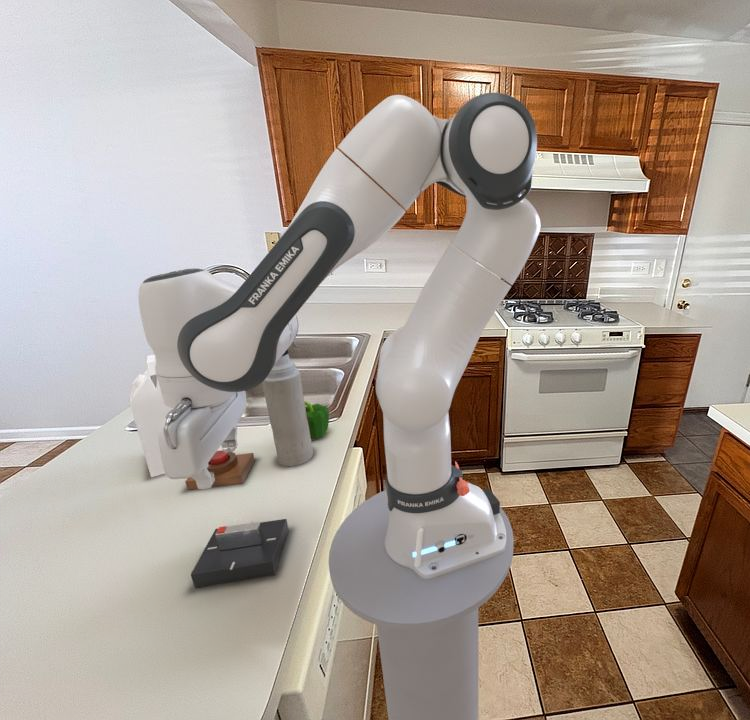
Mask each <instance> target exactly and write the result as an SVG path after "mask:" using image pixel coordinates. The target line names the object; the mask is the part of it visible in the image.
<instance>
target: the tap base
mask: <svg viewBox="0 0 750 720" xmlns="http://www.w3.org/2000/svg"><path fill="white" fill-rule="evenodd" d="M259 522H260V524H261V528H262V532H263V536H264V538H263V541H262V544H260V545H253V546H247V547H240V548H233V549H227V550H220V549H219V546H218V542H217V539H216V535H215V534H216V532H217V530H218V529H219V527H218V528H215V529H214V531H213V533H212V534H211V537H210V538H209V540H208V542H207V544H206V545H205V547H204V549H203V550H202V553H201V554H200V556H199V557H198V560H197V562H196V564H195V565H194V567H193V569H192V571H191V573H190V577H191V580H192V583H193V586H194V589H200V588H204V587H212V586H216V585H217V586H218V585H223V584H230V583H234V582H236V583H237V582H240V581H241V582H242V581H246V580H247V581H248V580H252V579H260V578H266V577H272V576H275V575H276V573H277V570H278V567H279V565H280V564H279V563H280V561H281V558H282V554H283V551H284V548H285V545H286V542H287V538H288V535H289V532H290V530H289V524H288V520H287V518H283V519H276V520H275V519H274V520H268V521H267V520H266V521H259ZM250 523H254V521H250Z"/></svg>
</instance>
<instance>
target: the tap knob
mask: <svg viewBox="0 0 750 720" xmlns="http://www.w3.org/2000/svg"><path fill="white" fill-rule="evenodd" d="M260 522H261V521H257V522H253V523H251V522H250V523H244V524H237V525H235V524H234V525H230V526H226V525H224V526H219V527H218V528H219V529H218V528H217V529H218V530H217V532H216V534H215V535H216V539H217V542H218V546H219V549H220V550H227V549H233V548H240V547H247V546H253V545H260V544H262V541H263V538H264V536H263V532H262V528H261V524H260Z"/></svg>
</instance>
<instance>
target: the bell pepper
mask: <svg viewBox="0 0 750 720" xmlns="http://www.w3.org/2000/svg"><path fill="white" fill-rule="evenodd" d="M304 401H305V408H306V415H307V420H308V425H309V431H310V437H311V441H312V440H319V439H321V438H323V437H324V436H325V435H326V433H327V431H328V428H329V424H330V412H329V411H330V409H329V408H328V407H327V406H326V405H322V404H320V403H314V404H311V403H310V402H309V401H306V400H304Z"/></svg>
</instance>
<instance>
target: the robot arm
mask: <svg viewBox="0 0 750 720" xmlns="http://www.w3.org/2000/svg"><path fill="white" fill-rule="evenodd" d="M537 149H538V132H537V127H536V123H535V121H534V118H533V116H532V114H531V112H530V111H529V110H528V108H527V107H526V106H525V105H524V104H523V103H522V102H521V101H520V100H519V99H517V98H515V97H513V96H511V95H509V94H506V93H503V92H486V93H485V92H484V93H481V94H479V95H476V96H474V97H472V98H470V99H469V100H468V101H466V102H465V103H464V104H463V105H462V106H461V107H460V108H459V109H458V111H457V112H456V113H455V114H454V115H453V116H452V117H450V118H440V117H437V116H435V115H433V114H432V113H431V112H430V110H428V109H427V107H425V106H424V105H423V104H421V102H419V101H418V100H416V99H414V98H412V97H410V96H407V95H404V94H393V95H390V96H387V97H386V98H384V99H383V100H382V101H381V102H379V103H378V104H377V105H376V106H375V107H373V108H372V109H371V110H370V111H368V113H367V114H366V115H364V117H363V118H361V120H359V121H358V122H357V124H355V125H354V127H353V128H352V129H350V131H349V132H348V133H347V134H346V136H345V137H344V138H343V139H342V140H341V142H340V143H339V144H338V146H337V148H335V149H334V150H333V152H332V153H331V154H330V157H329V158H328V159H327V161H326V162H325V163H324V165H323V167H322V168H321V170H320V171H319V173H318V175H317V176H316V177H315V179H314V181H313V183H312V184H311V186H310V188H309V190H308V192H307V194H306V196H305V198H304V199H303V201H302V203H301V204H300V206H299V208H298V209H297V212H296V213H295V215H294V217H293V219H292V220H291V222H289V225H288V226H287V228H286V229H285V231H284V232H283V234H282V235H281V236H280V238H279V239H278V240H277V241H276V243H275V244H274V245H273V246H272V248H271V249H270V250H269V251H268V253H267V254H266V255H265V256H264V257H263V258H262V260H261V261H260V262H259V264H258V265H257V266H256V267H255V268H254V269H253V271H252V272H251V273H250V275H248V276H247V278H246V279H245V281H243V283H242V284H241V285H240V286H238V285H235V284H233V283H230V282H228V281H224V280H222V279H221V278H219V277H216V276H215V275H214V274H212V273H211V272H209V271H208V270H206V269H203V268H185V269H180V270H179V269H178V270H175V271H170V272H165V273H160V274H156V275H153V276H150V277H148V278H145V279H144V280H143V282H141V283H140V285H139V288H138V308H139V315H140V320H141V324H142V327H143V332H144V335H145V339H146V343H147V344H148V346H149V347H150V348H151V351H152V352H153V355H155V358H156V365H155V371H156V375H157V378H158V382H159V385H160V389H161V393H162V396H163V400H164V403H165V405H166V406H168V407H170V408H174V409H172V410H171V411H169V412H168V413H167V415H166V419H167V420H166V421H165V422H164V423H163V424H162V425H161V427H160V429H159V434H158V441H159V448H160V454H161V460H162V465H163V469H164V473H165V474H164V475H165V476H166V477H167V478H169V479H171V480H183V479H188V478H193V479H195V481H196V484H197V487H198V488H199V490H206V489H207V490H208V489H211V488H212V487H211V486H212V485H213V483H214V481H215V478H214V473H213V472H209V471H208V470H207V468H208V466H209V465H208V462H209V461H210V459H211V458H212V457H213V455H214V454H215V453H216V451H219V448H220V447H221V448H222V450H223V451H224V452H226V453H227V452H233V453H235V451H236V449H237V448H238V446H239V443H238V439H237V437H238V427H239V426H238V423H239V421H240V420H241V418H242V417H243V415H244V414H245V413H246V410H247V393H246V391H249V390H252V389H254V388H256V387H258V386H259V385H261V384H262V382H263V381H264V380H265V379H266V378H267V376H268V374H269V373H270V371H271V370H272V368H273V366H274V365H275V363H276V362H277V361H278V360H279V359H280V357H281V356H282V355H283V354H284V353H285V351H286V350H287V349H288V350H289V348H290V347H291V345H292V344H293V343H294V341H295V339H296V337H297V336H298V332H299V319H298V317H297V314H298V313H299V311H300V310H301V308H302V307H303V306H304V305H305V304H306V303H307V301H308V300H309V299H310V297H311V296H312V295H313V294H314V293H315V292H316V291H317V289H318V288H319V286H320V285H321V284H322V283H323V282H324V281H325V280H326V279H327V278H328V277H329V276H330V275H331V274H332V273H333V272H335V271H336V270H337V269H338V268H340V267H341V266H342V265H343V264H345V263H346V262H348V261H349V260H351V259H353V258H354V257H355V256H357V255H360V253H362V252H364V251H365V250H367V249H368V248H370V247H371V246H372V245H374V244H375V243H377V242H378V241H379V240H380V239H381V238H382V237H384V236H385V234H387V233H388V232H389V231H390V230H391V229H393V227H394V226H395V225H396V224H397V223H398V222H399V221H400V220H401V219H402V217H403V216H404V215H405V214H406V211H409V209H410V207H411V206H412V205H413V204H414V202H415V201H416V200H417V199H418V197H419V196H420V195H421V194H422V193H423V192H424V191H425V190H426V189H427V188H428V187H429V186H432V184H435V183H436V184H437V185H439V186H441V187H443V188H445V189H447V190H449V191H450V192H452V193H454V194H456V195H458V196H461V197H464V198H465V200H466V211H465V215H464V218H463V220H462V222H461V226H460V227H459V228H458V230H457V232H456V233H455V235H454V236H453V238H452V239H451V241H450V244H448V246H447V248H446V249H445V251H444V252H443V254H442V256H441V257H440V259H439V261H438V262H437V264H436V265H435V267H434V269H433V270H432V272H431V274H430V275H429V277H428V279H427V280H426V282H425V283H424V285H423V286H422V288H421V290H420V292H419V295H418V297H417V299H416V301H415V303H414V305H413V307H412V310H411V311H410V313H409V315H408V317H407V319H406V321H405V323H404V325H403V326H400V327H398V328H397V329H395V330H393V331H392V332H391V333H390V334H389V335H388V336H387V338H385V340H384V342H383V344H381V347H380V351H379V356H378V357H379V358H378V365H377V372H376V379H375V394H376V398H377V401H378V404H379V406H380V409H381V411H382V419H383V420H382V421H383V422H382V423H383V445H384V454H385V464H386V465H385V466H386V474H385V481H384V490H385V491H386V500H387V504H388V508H389V520H388V528H387V532H386V536H385V541H384V544H385V549H386V552H387V554H388V555H389V557H390V558H391V559H392V560H393V561H395V562H396V563H398V564H399V565H402V566H404V567H407V568H410V569H412V570H413V571H414V572H415V573H416V574H417V575H418V576H420V577H421V578H422V579H425V580H428V579H432V578H435V577H437V576H440V575H443V574H446V573H449V572H452V571H454V570H457V569H460V568H463V567H466V566H468V565H471V564H474V563H477V562H480V561H483V560H485V559H488V558H491V557H494V556H497V555H499V554H502V553H503V552H504V550H505V547H506V541H507V538H506V529H505V525H504V522H503V519H502V517H501V515H500V507H501V501H499V499H498V498H497V496H496V495H495V494H494V492H493V491H492V490H491V489H490V488H489V487H487V488H485V489H481V487H480V486H478V485H475V484H473V483H471V482H469V481H466V480H465V479H464V474H463V470H461V469H460V466H459V464H458V462H457V461H456V460H455V461H454V464H455V465H453V464H452V445H451V443H452V442H451V440H452V439H451V438H452V437H451V426H450V415H449V411H450V408H451V406H452V401H453V398H454V394H455V392H456V389H457V387H458V385H459V383H460V380H461V378H462V376H463V374H464V372H465V370H466V369H467V366H468V364H469V363H470V359H471V358H472V355H473V353H474V351H475V349H476V346H477V344H478V341H480V340H479V339H480V337H481V336H482V333H483V332H484V330H485V328H486V327H487V325H488V324H489V322H490V320H491V319H492V317H493V315H494V314H495V312H496V311H497V310H498V308H499V306H500V305H501V303H502V302H503V301H504V299H505V297H506V296H507V295H508V293H509V291H510V290H511V288H512V286H513V285H514V283H515V282H516V281H517V278H518V277H519V276H520V274H521V272H522V271H523V269H524V267H525V265H526V263H527V262H528V259H529V257H530V255H531V254H532V251H533V250H534V249H533V248H534V246H535V244H536V242H537V240H538V236H539V235H540V231H541V218H540V216H539V213H538V211H537V210H536V208H535V207H534V205H533V204H532V203H531V202H530V201H529V200H528V199H527V198H526V197H527V196H528V195H529V194H530V192H531V189H532V183H533V182H532V181H533V172H534V165H535V161H536V156H537ZM432 569H435V570H432Z"/></svg>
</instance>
